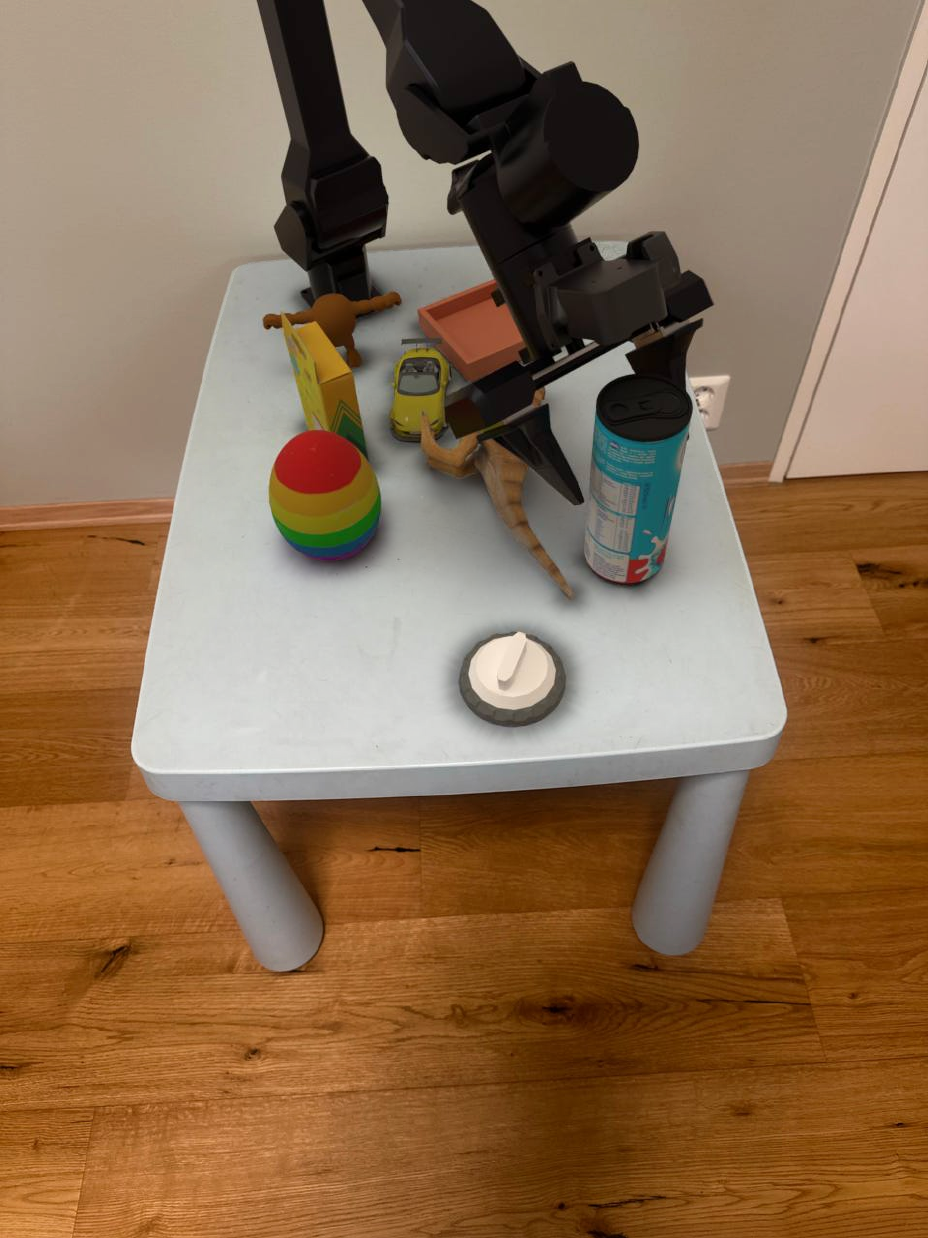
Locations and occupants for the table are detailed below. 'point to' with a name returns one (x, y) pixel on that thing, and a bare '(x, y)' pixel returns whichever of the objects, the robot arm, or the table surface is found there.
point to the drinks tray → (473, 331)
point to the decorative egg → (324, 496)
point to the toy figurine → (337, 319)
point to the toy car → (419, 390)
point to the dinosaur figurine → (494, 483)
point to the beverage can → (635, 475)
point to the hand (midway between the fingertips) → (632, 472)
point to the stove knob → (512, 679)
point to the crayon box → (324, 383)
